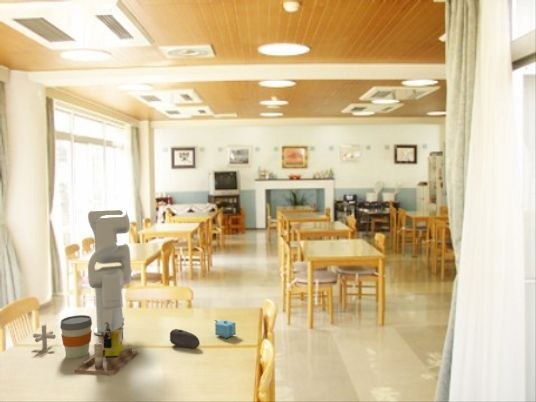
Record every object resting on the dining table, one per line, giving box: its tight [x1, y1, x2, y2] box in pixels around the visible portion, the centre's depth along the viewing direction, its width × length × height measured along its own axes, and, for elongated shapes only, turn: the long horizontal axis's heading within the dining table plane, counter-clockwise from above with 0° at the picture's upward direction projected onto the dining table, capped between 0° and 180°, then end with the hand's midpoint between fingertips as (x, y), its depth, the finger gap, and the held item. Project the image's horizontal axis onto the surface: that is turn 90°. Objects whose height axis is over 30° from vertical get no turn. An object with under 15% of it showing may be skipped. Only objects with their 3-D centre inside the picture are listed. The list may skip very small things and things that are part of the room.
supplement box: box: [105, 327, 124, 358], centre depth 203 cm, size 6×6×11 cm
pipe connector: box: [32, 324, 56, 349], centre depth 217 cm, size 10×10×10 cm
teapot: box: [214, 319, 236, 339], centre depth 229 cm, size 12×6×8 cm, turn 52°
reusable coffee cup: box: [60, 314, 93, 359], centre depth 208 cm, size 13×13×15 cm
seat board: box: [74, 342, 140, 376], centre depth 198 cm, size 22×16×10 cm
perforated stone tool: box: [169, 328, 201, 349], centre depth 215 cm, size 15×5×7 cm, turn 59°
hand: (113, 343), depth 203 cm, fingers open, 9 cm apart
